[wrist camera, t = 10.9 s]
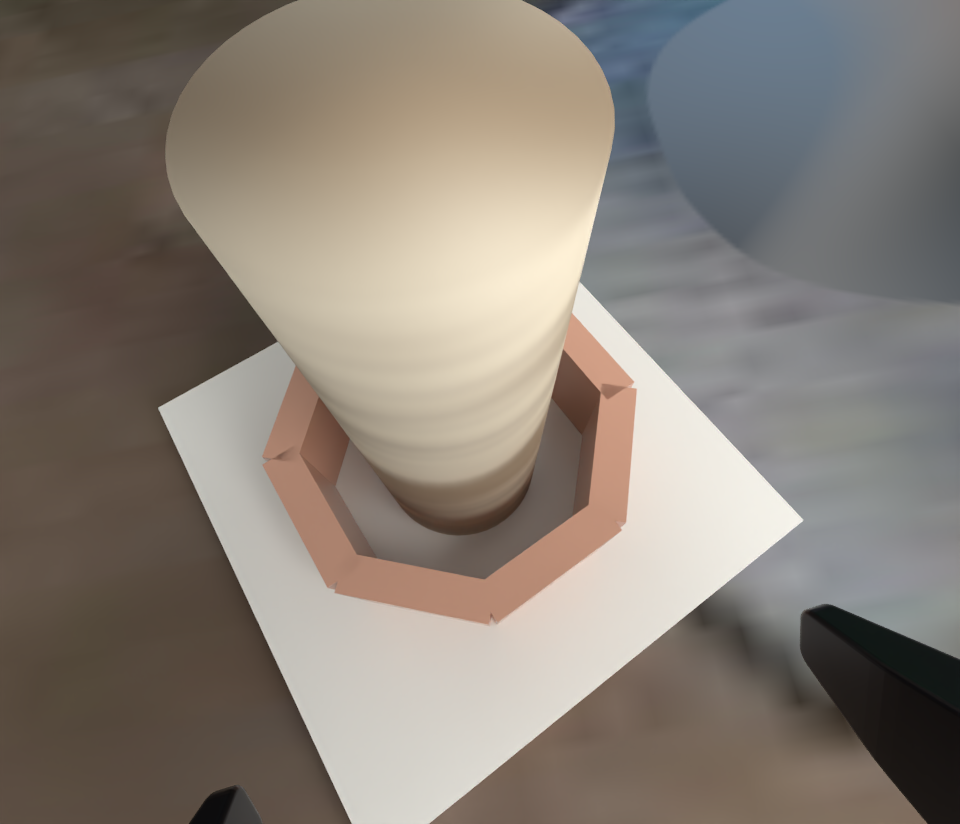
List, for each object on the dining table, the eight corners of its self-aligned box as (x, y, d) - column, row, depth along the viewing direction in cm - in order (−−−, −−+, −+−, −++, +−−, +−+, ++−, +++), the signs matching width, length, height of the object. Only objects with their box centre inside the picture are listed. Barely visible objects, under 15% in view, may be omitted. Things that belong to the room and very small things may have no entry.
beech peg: (544, 525, 17) (666, 263, 5) (390, 544, 17) (132, 323, 5) (521, 388, 19) (569, -38, 7) (384, 404, 19) (190, -2, 7)
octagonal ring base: (787, 526, 18) (877, 493, 13) (380, 853, 14) (334, 942, 10) (512, 228, 23) (516, 140, 19) (173, 418, 20) (88, 361, 16)
